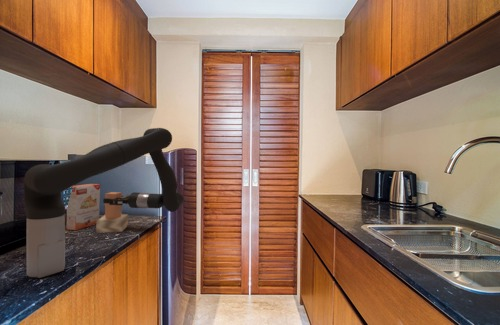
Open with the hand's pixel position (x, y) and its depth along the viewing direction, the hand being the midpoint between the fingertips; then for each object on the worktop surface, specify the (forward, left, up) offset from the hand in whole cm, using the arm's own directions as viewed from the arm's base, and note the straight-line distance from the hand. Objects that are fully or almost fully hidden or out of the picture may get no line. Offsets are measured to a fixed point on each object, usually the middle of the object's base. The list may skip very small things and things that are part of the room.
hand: (109, 199), depth 119 cm
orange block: (-2, -1, -9) cm, 9 cm away
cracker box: (+13, +6, -15) cm, 20 cm away
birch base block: (-2, -1, -15) cm, 15 cm away
